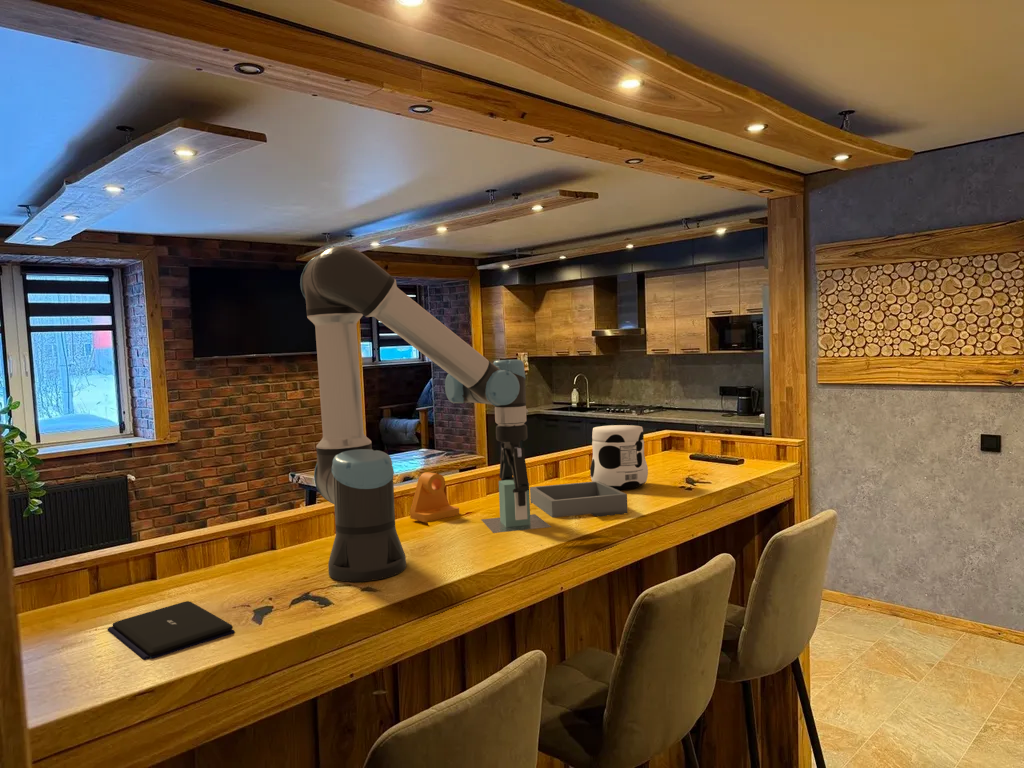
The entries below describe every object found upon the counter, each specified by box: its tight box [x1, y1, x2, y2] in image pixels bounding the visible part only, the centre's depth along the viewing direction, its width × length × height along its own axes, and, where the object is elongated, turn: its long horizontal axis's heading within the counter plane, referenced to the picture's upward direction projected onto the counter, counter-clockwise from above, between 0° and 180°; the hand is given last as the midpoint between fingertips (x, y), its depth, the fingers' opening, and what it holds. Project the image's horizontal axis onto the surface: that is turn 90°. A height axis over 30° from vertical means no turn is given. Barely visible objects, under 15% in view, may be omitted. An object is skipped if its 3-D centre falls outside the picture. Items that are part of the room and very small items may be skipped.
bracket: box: [409, 471, 460, 523], centre depth 183 cm, size 11×7×12 cm, turn 130°
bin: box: [529, 481, 629, 518], centre depth 188 cm, size 20×20×5 cm
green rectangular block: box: [498, 480, 531, 527], centre depth 172 cm, size 6×6×10 cm
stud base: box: [480, 513, 552, 534], centre depth 172 cm, size 14×14×6 cm
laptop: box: [107, 600, 236, 661], centre depth 114 cm, size 16×20×2 cm
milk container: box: [589, 424, 649, 490], centre depth 217 cm, size 17×17×18 cm
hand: (514, 513), depth 172 cm, fingers open, 12 cm apart
